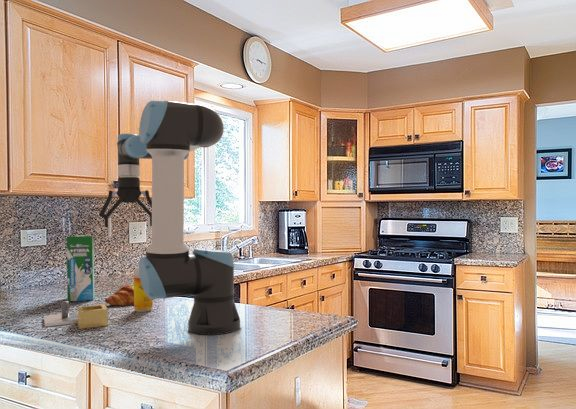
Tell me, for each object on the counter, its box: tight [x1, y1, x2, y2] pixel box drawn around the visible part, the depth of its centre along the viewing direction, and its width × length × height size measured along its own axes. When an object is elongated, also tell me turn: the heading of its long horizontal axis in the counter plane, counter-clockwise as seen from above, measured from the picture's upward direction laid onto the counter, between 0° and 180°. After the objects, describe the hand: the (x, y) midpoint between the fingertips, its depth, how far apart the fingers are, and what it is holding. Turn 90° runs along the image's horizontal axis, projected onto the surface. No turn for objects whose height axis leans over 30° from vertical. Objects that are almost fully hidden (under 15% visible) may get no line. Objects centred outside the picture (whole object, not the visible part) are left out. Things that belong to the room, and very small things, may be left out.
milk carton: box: [66, 234, 96, 302], centre depth 188 cm, size 9×9×25 cm
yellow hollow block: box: [76, 303, 109, 330], centre depth 147 cm, size 8×8×5 cm
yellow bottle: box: [133, 266, 154, 313], centre depth 166 cm, size 6×6×15 cm
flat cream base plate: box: [43, 300, 77, 328], centre depth 153 cm, size 12×12×6 cm
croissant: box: [104, 284, 134, 307], centre depth 180 cm, size 21×10×8 cm, turn 141°
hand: (129, 235), depth 173 cm, fingers open, 13 cm apart
